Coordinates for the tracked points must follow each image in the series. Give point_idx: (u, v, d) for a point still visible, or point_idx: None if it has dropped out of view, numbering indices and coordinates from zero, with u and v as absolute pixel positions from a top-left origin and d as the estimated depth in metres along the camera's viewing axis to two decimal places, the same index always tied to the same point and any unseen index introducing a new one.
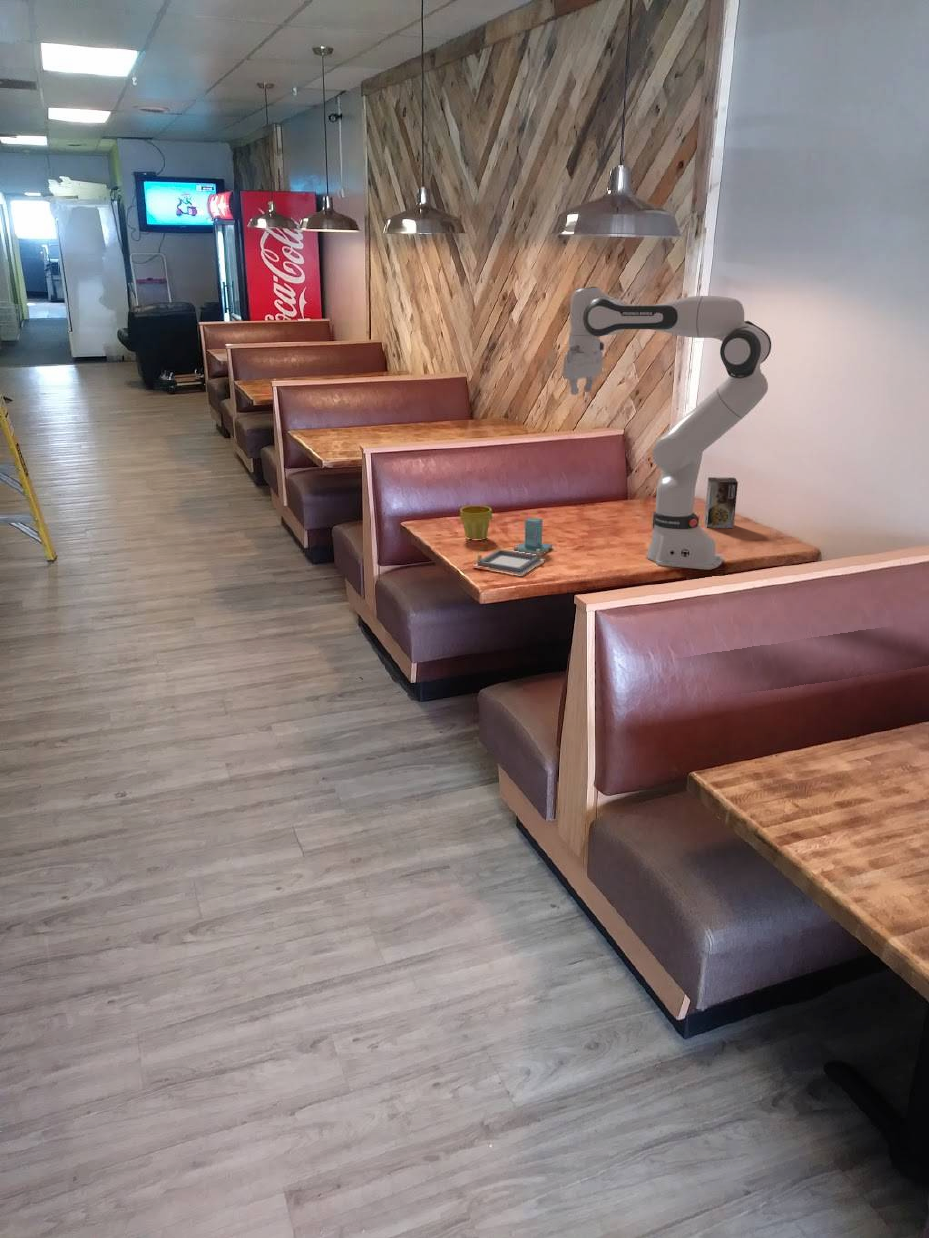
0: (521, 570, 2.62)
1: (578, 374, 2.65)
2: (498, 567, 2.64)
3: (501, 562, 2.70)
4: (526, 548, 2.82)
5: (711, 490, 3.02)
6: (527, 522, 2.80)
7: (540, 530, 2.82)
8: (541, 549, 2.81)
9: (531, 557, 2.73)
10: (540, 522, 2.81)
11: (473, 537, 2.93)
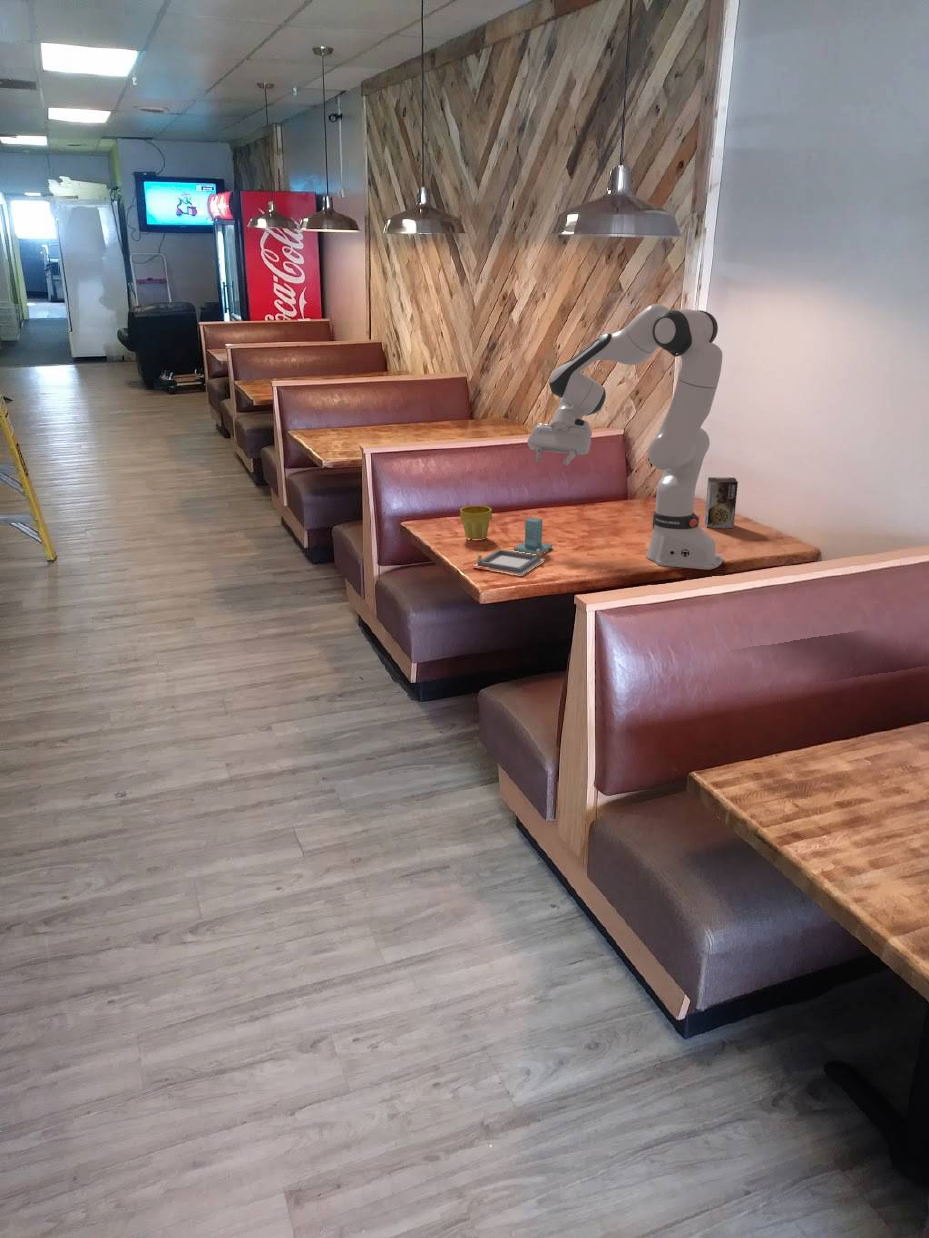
0: (521, 570, 2.62)
1: (537, 441, 2.88)
2: (498, 567, 2.64)
3: (501, 562, 2.70)
4: (526, 548, 2.82)
5: (711, 490, 3.02)
6: (527, 522, 2.80)
7: (540, 530, 2.82)
8: (541, 549, 2.81)
9: (531, 557, 2.73)
10: (540, 522, 2.81)
11: (473, 537, 2.93)
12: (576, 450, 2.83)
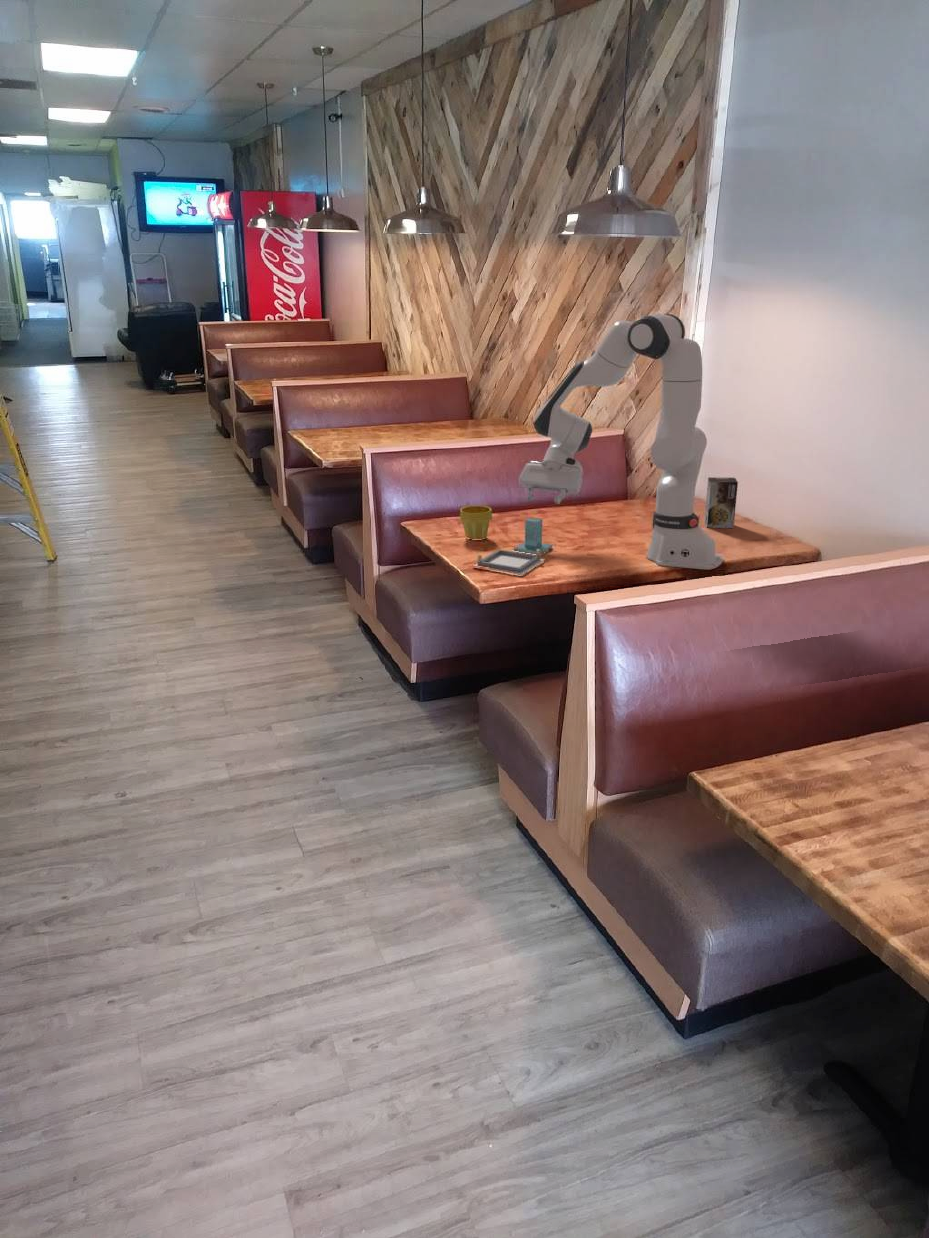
0: (521, 570, 2.62)
1: (528, 479, 2.88)
2: (498, 567, 2.64)
3: (501, 562, 2.70)
4: (526, 548, 2.82)
5: (711, 490, 3.02)
6: (527, 522, 2.80)
7: (540, 530, 2.82)
8: (541, 549, 2.81)
9: (531, 557, 2.73)
10: (540, 522, 2.81)
11: (473, 537, 2.93)
12: (567, 489, 2.82)
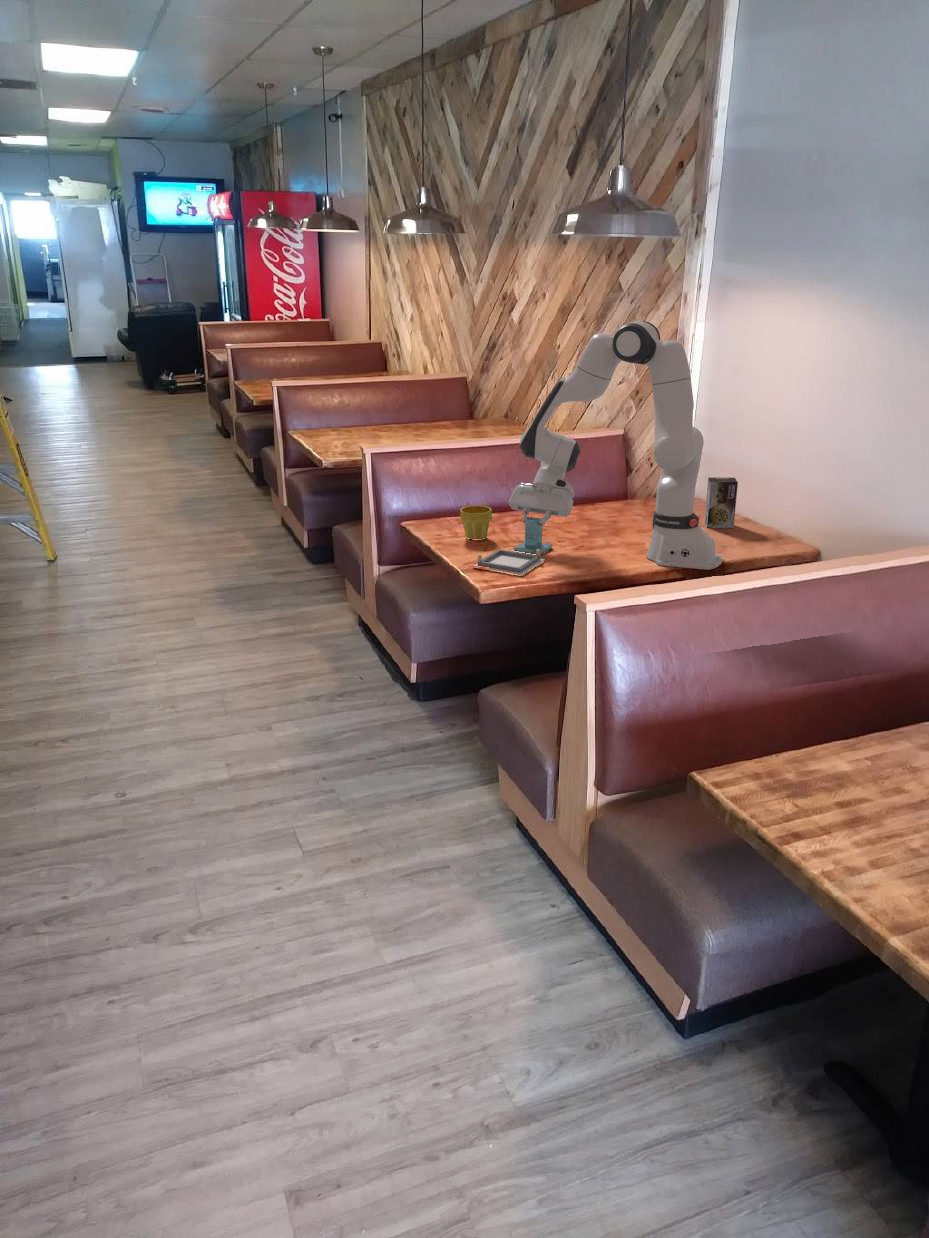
0: (521, 570, 2.62)
1: (518, 501, 2.84)
2: (498, 567, 2.64)
3: (501, 562, 2.70)
4: (526, 547, 2.82)
5: (711, 490, 3.02)
6: (527, 522, 2.80)
7: (540, 530, 2.82)
8: (541, 549, 2.80)
9: (531, 557, 2.73)
10: None
11: (473, 537, 2.93)
12: (557, 512, 2.78)
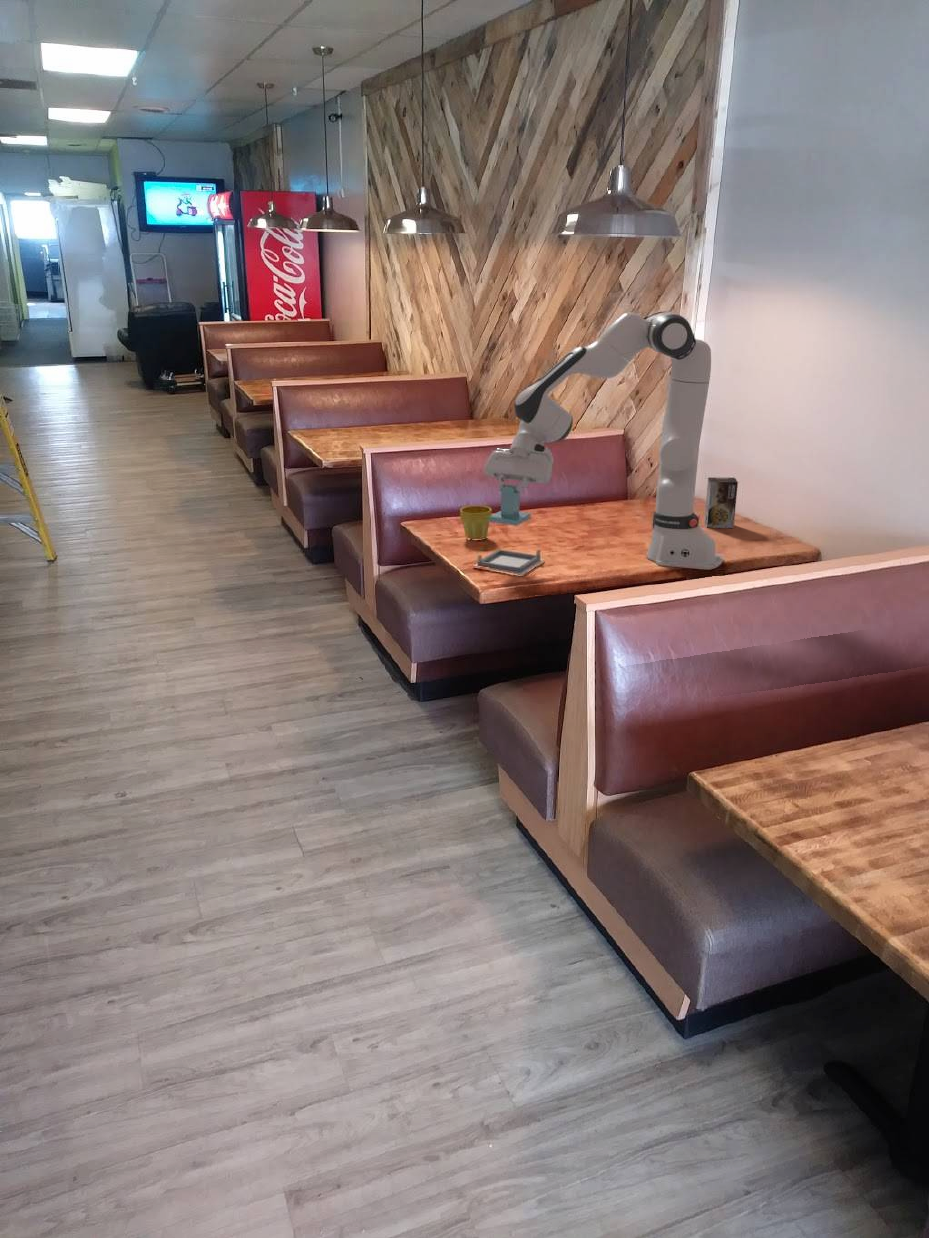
0: (521, 570, 2.62)
1: (494, 468, 2.65)
2: (498, 567, 2.64)
3: (501, 562, 2.70)
4: (502, 517, 2.63)
5: (711, 490, 3.02)
6: (503, 489, 2.61)
7: (517, 498, 2.63)
8: (518, 518, 2.62)
9: (531, 557, 2.73)
10: None
11: (473, 537, 2.93)
12: (536, 478, 2.60)
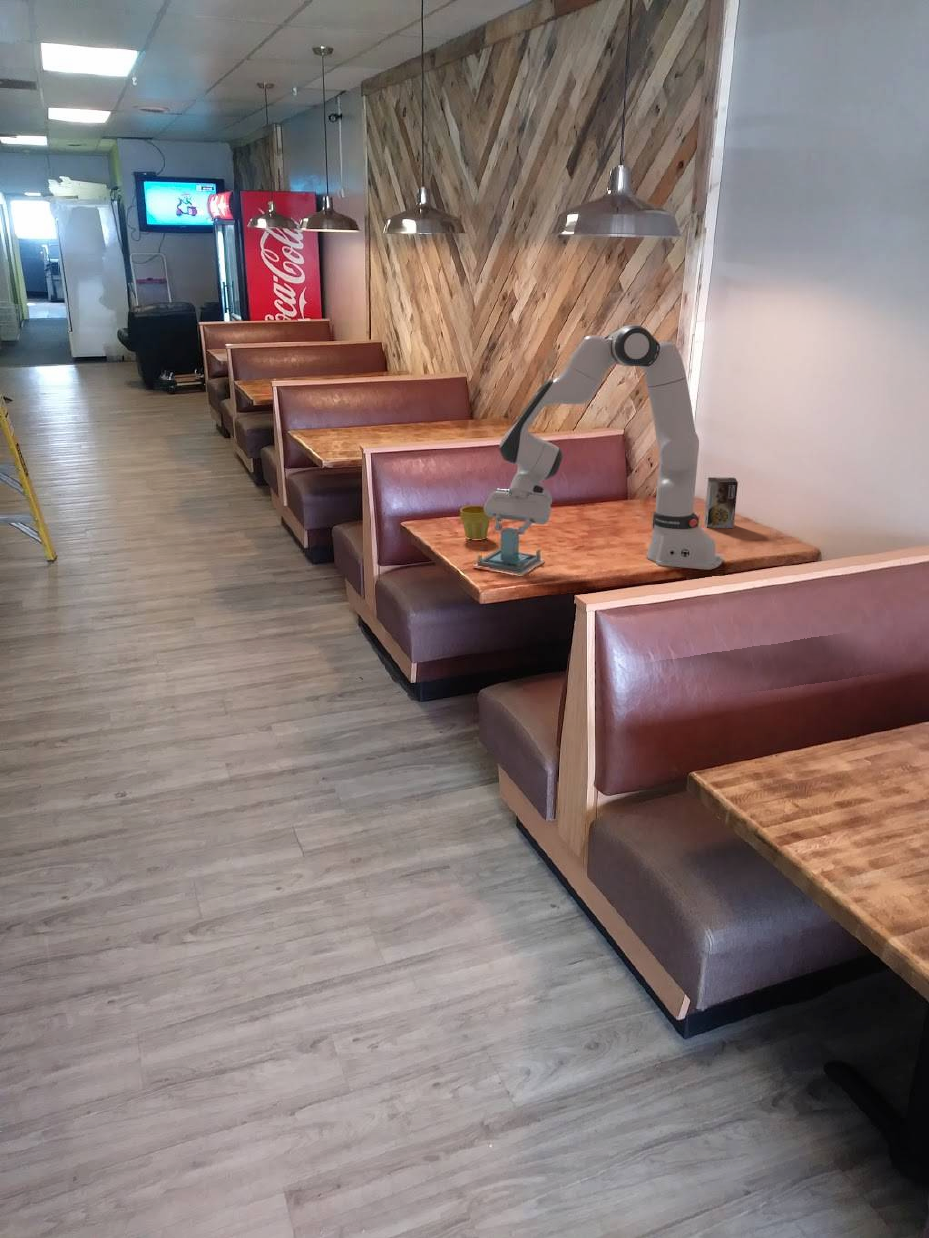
0: (521, 570, 2.62)
1: (493, 508, 2.69)
2: (498, 567, 2.64)
3: None
4: (501, 560, 2.68)
5: (711, 490, 3.02)
6: (503, 533, 2.66)
7: (516, 541, 2.68)
8: (517, 561, 2.66)
9: (531, 557, 2.73)
10: (516, 533, 2.66)
11: (473, 537, 2.93)
12: (534, 519, 2.64)
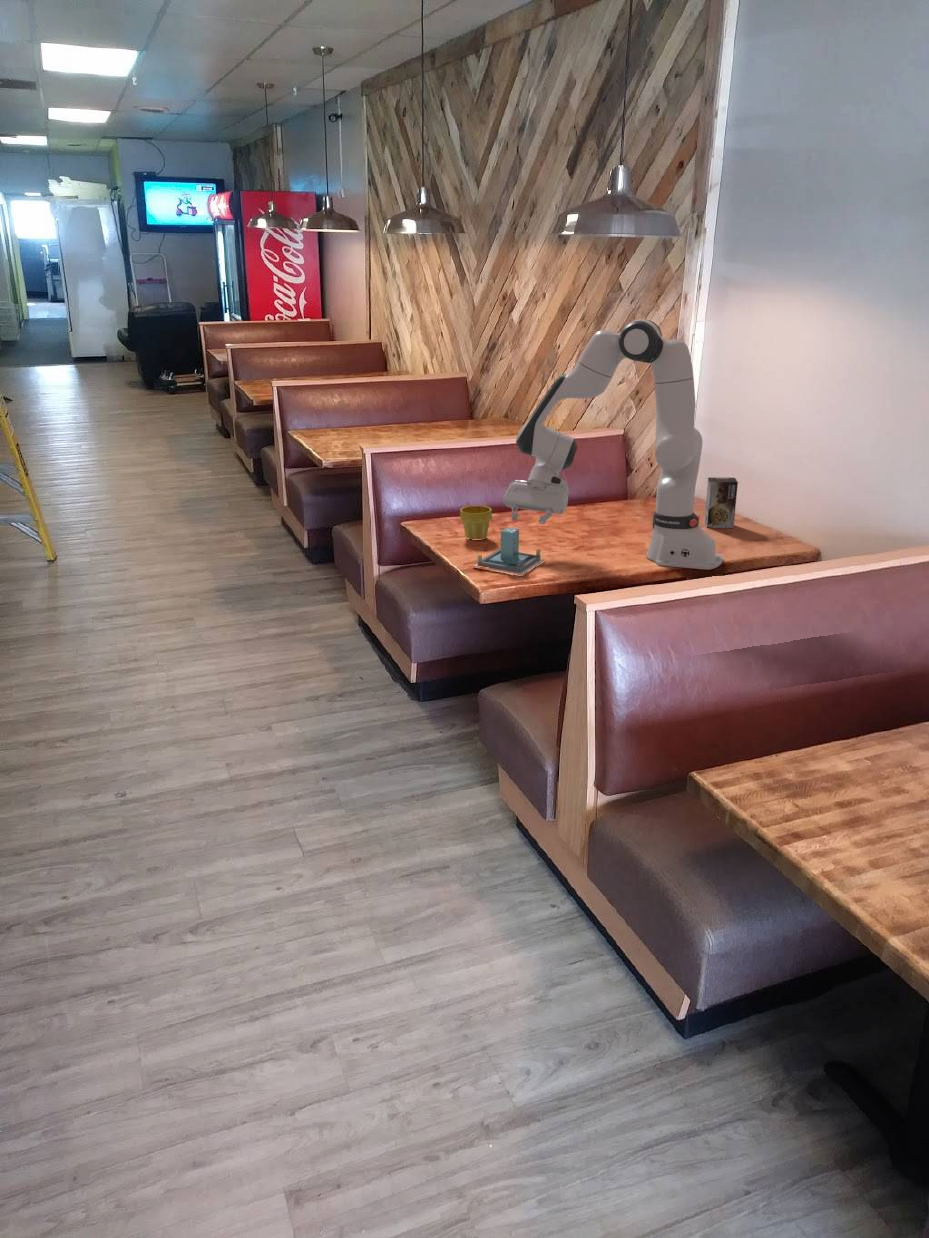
0: (521, 570, 2.62)
1: (513, 499, 2.80)
2: (498, 567, 2.64)
3: None
4: (501, 560, 2.68)
5: (711, 490, 3.02)
6: (503, 533, 2.66)
7: (516, 541, 2.68)
8: (517, 561, 2.66)
9: (531, 557, 2.73)
10: (516, 533, 2.66)
11: (473, 537, 2.93)
12: (552, 509, 2.74)
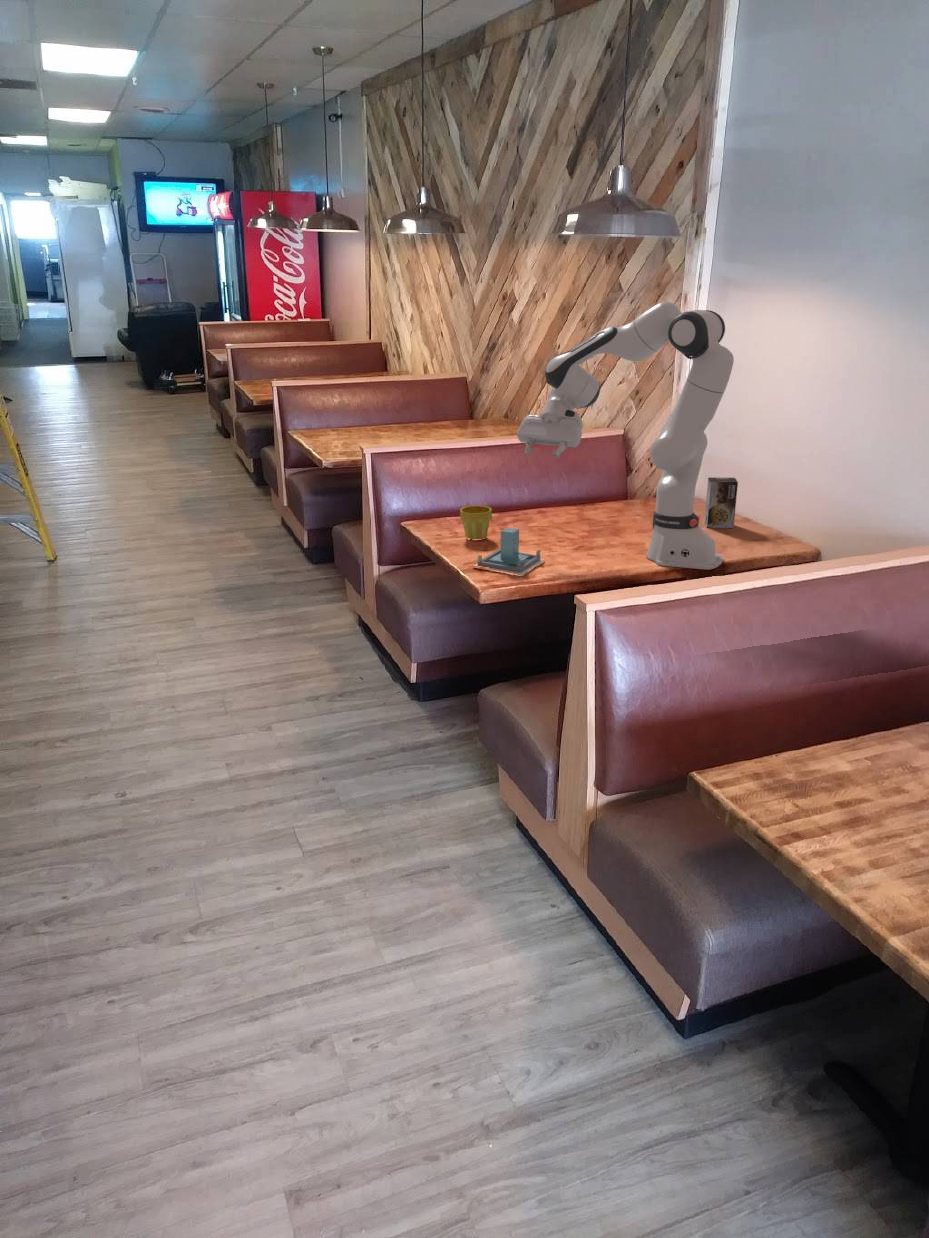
0: (521, 570, 2.62)
1: (526, 433, 2.80)
2: (498, 567, 2.64)
3: None
4: (501, 560, 2.68)
5: (711, 490, 3.02)
6: (503, 533, 2.66)
7: (516, 541, 2.68)
8: (517, 561, 2.66)
9: (531, 557, 2.73)
10: (516, 533, 2.66)
11: (473, 537, 2.93)
12: (566, 442, 2.75)
